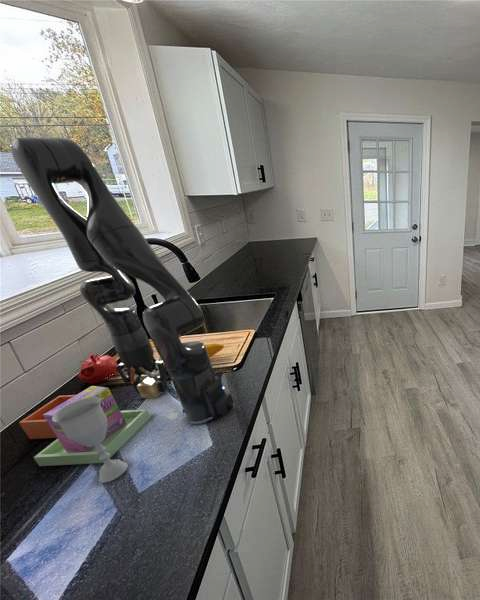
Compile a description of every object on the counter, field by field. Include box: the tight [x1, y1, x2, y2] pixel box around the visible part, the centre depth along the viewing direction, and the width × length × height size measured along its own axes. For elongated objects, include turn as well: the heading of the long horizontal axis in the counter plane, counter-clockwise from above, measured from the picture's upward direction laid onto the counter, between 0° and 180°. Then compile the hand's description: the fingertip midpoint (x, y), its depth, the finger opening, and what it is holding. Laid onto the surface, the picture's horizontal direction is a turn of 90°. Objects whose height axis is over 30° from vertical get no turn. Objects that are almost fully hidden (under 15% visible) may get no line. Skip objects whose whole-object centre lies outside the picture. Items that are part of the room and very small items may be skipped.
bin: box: [18, 394, 76, 440], centre depth 84 cm, size 10×10×6 cm
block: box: [137, 375, 162, 399], centre depth 95 cm, size 4×4×4 cm
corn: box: [157, 343, 225, 361], centre depth 109 cm, size 7×8×20 cm
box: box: [43, 385, 126, 453], centre depth 77 cm, size 10×6×12 cm, turn 169°
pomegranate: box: [77, 352, 118, 384], centre depth 104 cm, size 10×10×9 cm
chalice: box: [52, 397, 129, 484], centre depth 67 cm, size 7×7×18 cm
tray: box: [33, 408, 152, 467], centre depth 79 cm, size 16×15×3 cm
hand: (153, 391), depth 96 cm, fingers open, 6 cm apart
